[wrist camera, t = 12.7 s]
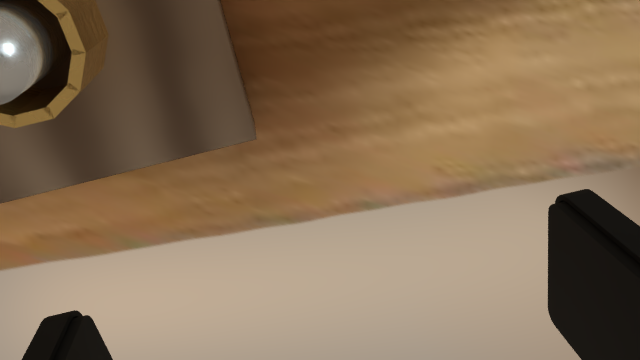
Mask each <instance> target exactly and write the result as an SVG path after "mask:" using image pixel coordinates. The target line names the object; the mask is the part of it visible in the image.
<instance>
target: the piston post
mask: <svg viewBox="0 0 640 360" xmlns="http://www.w3.org/2000/svg"><path fill="white" fill-rule="evenodd" d="M71 52H72V51H71V49H70V47H69V44H68V42H67V39H66V37H65V35H64V32H63V30H62V28H61V25H60V23H59V20H58V18H57V17H56V16H55V15H54V14H53V13H52V12H51V11H49V10H48V9H47V8H46V7H45V6H44V5H43V4H41V3H40V2H39V1H38V0H0V105H1V104H5V103H7V102H9V101H11V100H13V99H14V98H16V97H17V96H19V95H20V94H21V93H23V92H24V91H26V90H27V89H28V88H30V87H31V86H32V85H34V84H35V83H37V82H38V81H39V80H41V79H42V78H43V77H45V76H46V75H47V74H49V73H50V72H52V71H53V70H54V69H56V68H57V67H58V66H60V65H61V64H63V63H64V62H65V61H66V60H67V59H68V57H69V56H70V54H71Z"/></svg>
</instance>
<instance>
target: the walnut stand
mask: <svg viewBox="0 0 640 360" xmlns="http://www.w3.org/2000/svg"><path fill="white" fill-rule="evenodd" d="M96 3H97V5H98V8H99V11H100V13H101V16H102V19H103V21H104V24H105V26H106V29H107V32H108V34H109V37H108V43H107V49H106V55H105V61H104V67H103V69H102V70H101V71H100V72H99V73H98V74H97V75H96V76H95V78H94V79H93V80H92V81H91V82H90V83H89V84H88V85H87V86H86V87H85V88H84V89H83V90H82V91H81V92H80V93H79V94H78V95H77V96H76V97H75V98H74V99H73V100H72V101H71V102H70V103H69V104H68V105H67V106H66V107H65V108H64V109H63V110H62V111H61V112H60V113H59V114H58V115H57V116H56V117H55V118H54V119H50V120H46V121H42V122H38V123H34V124H30V125H26V126H22V127H18V128H12V127H8V126H3V125H0V204H1V203H4V202H8V201H12V200H16V199H20V198H24V197H28V196H32V195H36V194H40V193H44V192H48V191H52V190H56V189H60V188H64V187H68V186H72V185H76V184H80V183H84V182H88V181H92V180H96V179H100V178H104V177H108V176H112V175H116V174H120V173H124V172H128V171H132V170H136V169H140V168H144V167H148V166H152V165H156V164H160V163H164V162H168V161H171V160H175V159H179V158H183V157H187V156H191V155H195V154H199V153H203V152H207V151H211V150H215V149H219V148H223V147H227V146H231V145H235V144H239V143H243V142H247V141H251V140H255V139H256V131H255V123H254V120H253V116H252V113H251V109H250V105H249V102H248V98H247V95H246V91H245V88H244V84H243V80H242V77H241V73H240V70H239V66H238V63H237V59H236V55H235V52H234V48H233V45H232V41H231V38H230V34H229V30H228V27H227V23H226V20H225V16H224V13H223V9H222V5H221V2H220V0H96ZM71 55H72V52H71V54H70V56H69V57H68V59H67V60H66V61H65V62H64V63H63V64H61V65H60V66H58V67H57V68H56V69H54V70H53V71H52V72H50V73H49V74H47V75H46V76H45V77H43V78H42V79H41V80H39V81H38V82H37V83H35V84H34V85H32V86H36V87H40V88H44V89H48V88H52V87H56V86H61V85H65V84H67V83H68V76H69V69H70V62H71Z"/></svg>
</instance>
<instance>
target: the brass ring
mask: <svg viewBox="0 0 640 360" xmlns="http://www.w3.org/2000/svg"><path fill="white" fill-rule="evenodd" d="M38 1H39V2H40V3H41V4H43V5H44V6H45V7H46V8H47V9H48V10H49V11H51V12H52V13H53V14H54V15H55V16H56V17H57V18H58V20H59V23H60V25H61V28H62V30H63V32H64V35H65V37H66V39H67V42H68V44H69V47H70V49H71V51H72V55H71V62H70V69H69V76H68V83H67V84H65V85H61V86H56V87H52V88H48V89H44V88H40V87H36V86H31V87H30V88H28V89H27V90H26V91H24V92H23V93H21V94H20V95H19V96H17V97H16V98H14V99H13V100H11V101H9V102H7V103H5V104H1V105H0V125H3V126H8V127H12V128H18V127H22V126H26V125H30V124H34V123H38V122H42V121H46V120H50V119H54V118H55V117H56V116H57V115H58V114H59V113H60V112H61V111H62V110H63V109H64V108H65V107H66V106H67V105H68V104H69V103H70V102H71V101H72V100H73V99H74V98H75V97H76V96H77V95H78V94H79V93H80V92H81V91H82V90H83V89H84V88H85V87H86V86H87V85H88V84H89V83H90V82H91V81H92V80H93V79H94V78H95V76H96V75H97V74H98V73H99V72H100V71H101V70H102V69H103V67H104V61H105V55H106V49H107V43H108V37H109V34H108V32H107V29H106V26H105V24H104V21H103V19H102V16H101V13H100V11H99V8H98V5H97V3H96V0H38Z"/></svg>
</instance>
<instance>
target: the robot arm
mask: <svg viewBox="0 0 640 360" xmlns="http://www.w3.org/2000/svg"><path fill="white" fill-rule="evenodd" d="M548 215H549V216H548V311H549V315H550V317H551V320H552V322H553V323H554V325H555V326H556V328H557V329H558V330H559V331H560V333H561V334H562V335H563V336H564V338H565V339H566V340H567V342H568V343H569V344H570V346H571V347H572V348H573V349H574V351H575V352H576V353H577V354H578V356H579V357H580V358H581V359H582V360H640V226H639V225H637V224H636V223H634V222H633V221H632V220H630V219H629V218H628V217H626V216H625V215H624V214H622V213H621V212H620V211H618V210H617V209H615V208H614V207H613V206H612V205H610V204H609V203H608V202H606V201H605V200H604V199H602V198H601V197H600V196H598V195H597V194H595V193H594V192H593V191H591V190H589V189H584V190H580V191H576V192H571V193H567V194H563V195H560V196H558V197H557V199H556V201H555V204H552V205H551V206H550V207H549V212H548ZM22 360H113V359H112V357H111V355H110V353H109V351H108V349H107V347H106V345H105V343H104V341H103V339H102V337H101V335H100V334H99V331H98V329H97V328H96V325H95V323H94V321H93V320H92V318H91V317H90V316H88V315H86V316H82V314H81V313H80V312H78V311H70V312H66V313H62V314H58V315H53V316H49V317H47V318H45V319H44V320H43V321H42V322H41V324H40V326H39V328H38V330H37V332H36V334H35V335H34V337H33V339H32V341H31V343H30V345H29V347H28V349H27V351H26V353H25V354H24V356H23V358H22Z"/></svg>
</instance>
